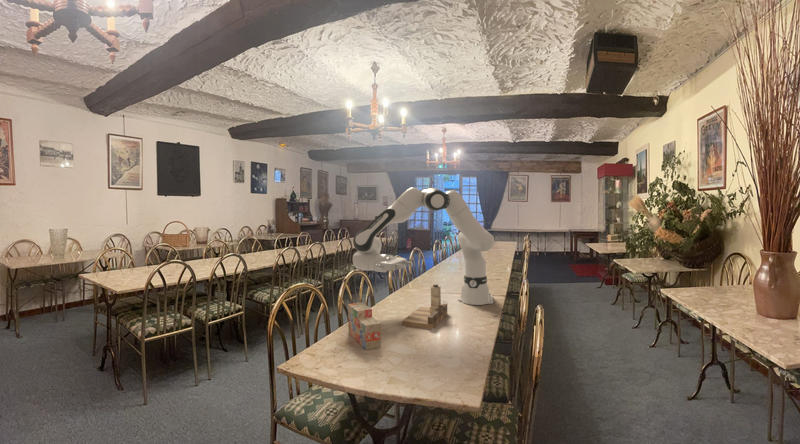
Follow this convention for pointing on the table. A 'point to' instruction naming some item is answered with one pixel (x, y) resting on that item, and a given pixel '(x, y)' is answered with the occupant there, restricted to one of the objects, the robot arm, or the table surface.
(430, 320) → the fenced board
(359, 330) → the stack of blocks
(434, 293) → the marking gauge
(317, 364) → the table surface
